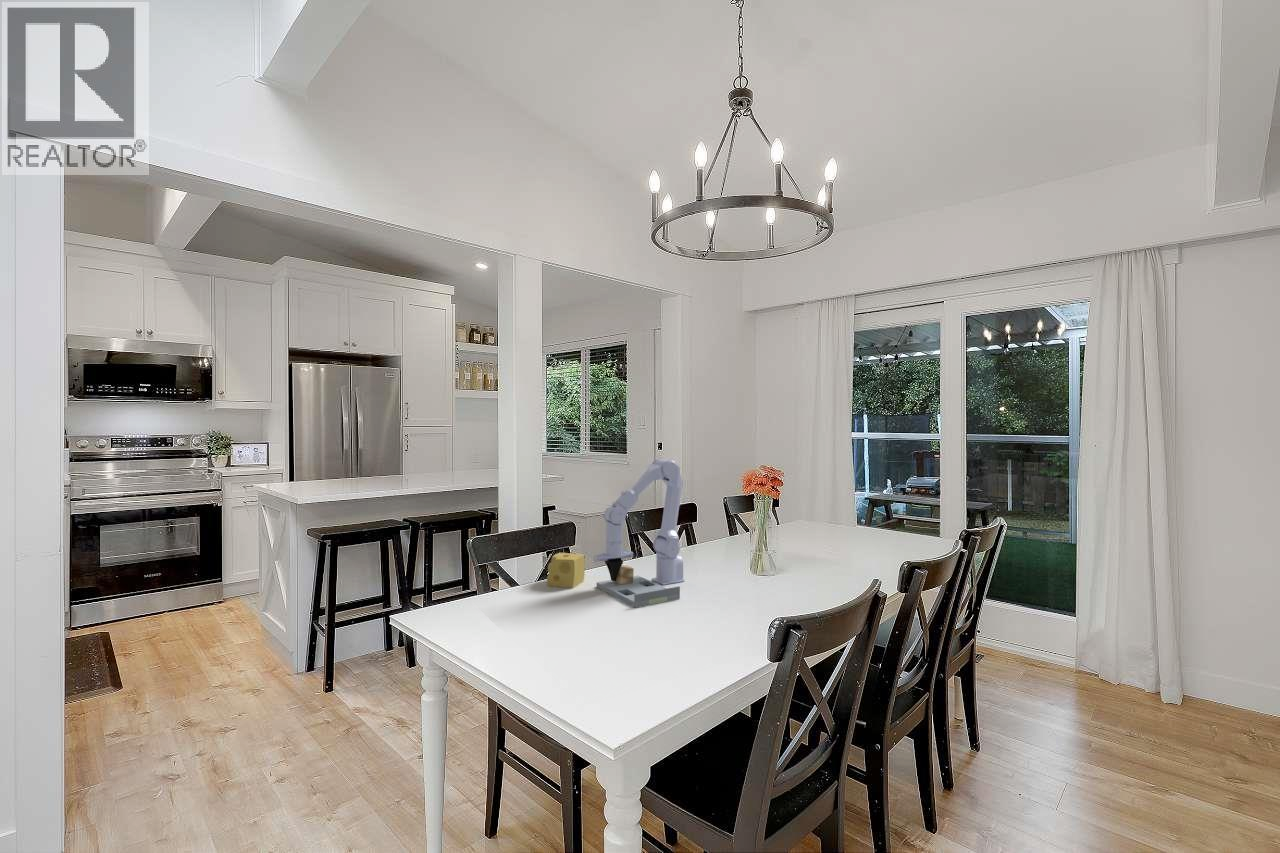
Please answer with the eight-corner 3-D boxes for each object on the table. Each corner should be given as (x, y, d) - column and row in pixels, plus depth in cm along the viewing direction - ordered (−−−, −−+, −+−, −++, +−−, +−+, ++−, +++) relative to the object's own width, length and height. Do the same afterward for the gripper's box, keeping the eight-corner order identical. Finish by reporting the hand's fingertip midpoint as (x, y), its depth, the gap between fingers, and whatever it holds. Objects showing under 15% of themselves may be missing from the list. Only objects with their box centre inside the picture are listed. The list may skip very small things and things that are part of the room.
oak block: (625, 579, 209) (626, 565, 209) (633, 582, 205) (633, 568, 205) (613, 580, 207) (614, 566, 207) (620, 584, 202) (621, 569, 202)
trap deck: (638, 579, 214) (638, 569, 214) (679, 598, 192) (679, 586, 192) (596, 586, 205) (596, 575, 205) (635, 607, 183) (635, 594, 183)
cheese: (546, 586, 206) (546, 557, 206) (559, 578, 216) (559, 551, 216) (574, 589, 203) (574, 560, 203) (586, 580, 213) (586, 553, 213)
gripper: (626, 537, 211) (625, 575, 211) (589, 541, 203) (589, 580, 203) (636, 540, 205) (636, 579, 205) (599, 545, 197) (599, 585, 197)
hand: (613, 580), depth 204 cm, fingers closed
